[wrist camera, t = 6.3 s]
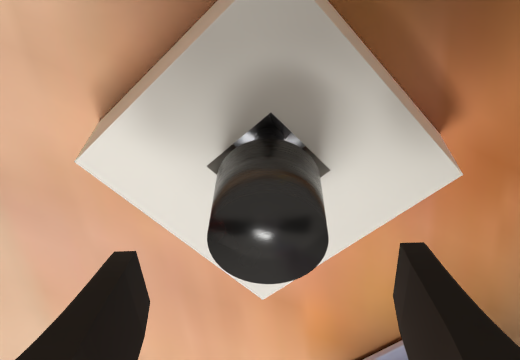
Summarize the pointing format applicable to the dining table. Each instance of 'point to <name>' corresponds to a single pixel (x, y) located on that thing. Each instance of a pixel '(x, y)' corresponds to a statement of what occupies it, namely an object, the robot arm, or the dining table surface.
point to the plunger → (268, 208)
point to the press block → (258, 107)
